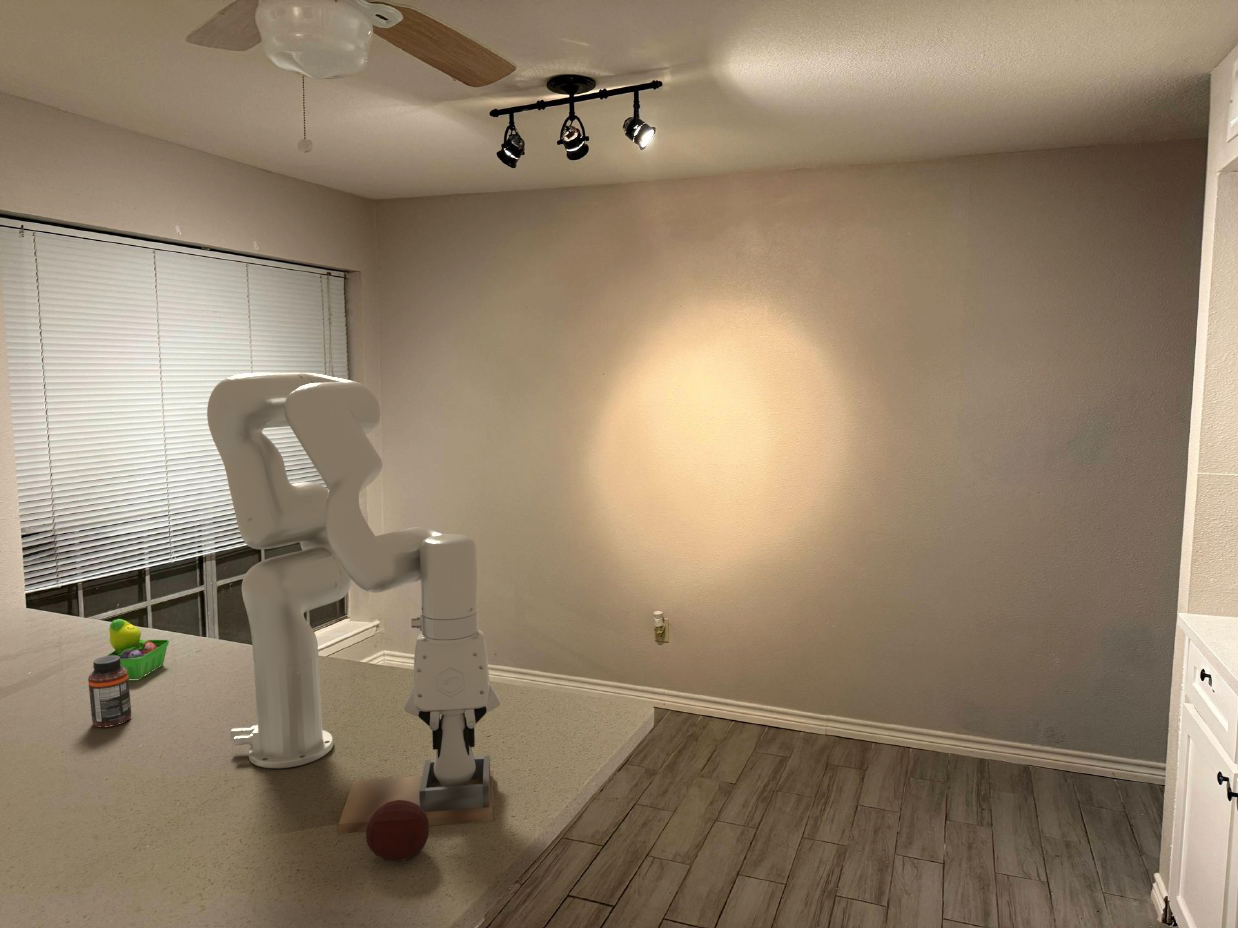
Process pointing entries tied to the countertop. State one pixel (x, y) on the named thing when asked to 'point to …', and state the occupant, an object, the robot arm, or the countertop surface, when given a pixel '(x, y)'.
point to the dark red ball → (397, 830)
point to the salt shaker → (453, 752)
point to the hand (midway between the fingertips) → (454, 751)
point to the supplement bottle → (109, 692)
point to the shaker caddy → (423, 797)
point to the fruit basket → (135, 649)
